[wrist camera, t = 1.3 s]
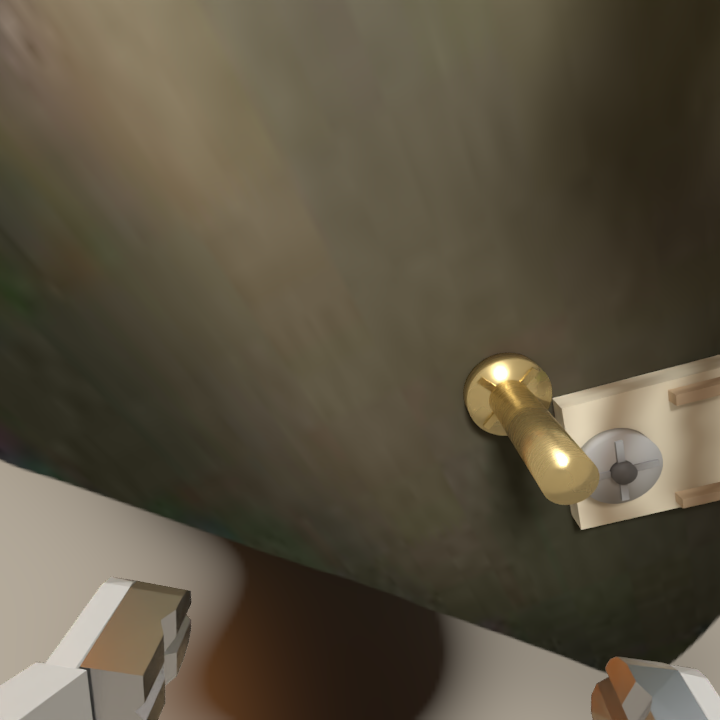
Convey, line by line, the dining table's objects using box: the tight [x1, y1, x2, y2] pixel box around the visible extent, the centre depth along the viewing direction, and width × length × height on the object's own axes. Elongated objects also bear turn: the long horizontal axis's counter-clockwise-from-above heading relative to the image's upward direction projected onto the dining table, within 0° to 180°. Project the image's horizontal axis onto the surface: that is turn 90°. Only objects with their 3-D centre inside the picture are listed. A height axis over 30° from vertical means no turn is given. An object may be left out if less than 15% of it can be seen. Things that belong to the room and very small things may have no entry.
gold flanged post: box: [463, 353, 600, 505], centre depth 32 cm, size 7×7×13 cm
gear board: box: [552, 355, 720, 530], centre depth 38 cm, size 22×13×4 cm, turn 107°
